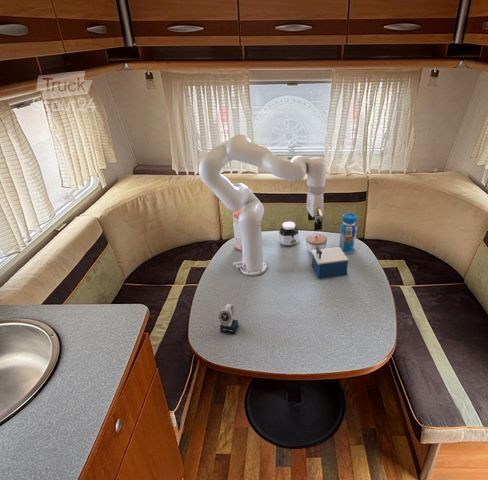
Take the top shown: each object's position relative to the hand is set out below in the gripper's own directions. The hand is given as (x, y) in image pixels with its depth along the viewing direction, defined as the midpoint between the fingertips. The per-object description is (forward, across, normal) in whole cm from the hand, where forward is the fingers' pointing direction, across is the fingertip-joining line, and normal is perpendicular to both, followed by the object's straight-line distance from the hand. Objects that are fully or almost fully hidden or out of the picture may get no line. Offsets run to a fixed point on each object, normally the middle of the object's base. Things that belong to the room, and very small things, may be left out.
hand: (314, 224), depth 157 cm
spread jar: (+26, -31, -4) cm, 40 cm away
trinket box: (+26, -18, +7) cm, 32 cm away
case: (+25, 0, +8) cm, 27 cm away
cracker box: (+26, -33, -26) cm, 49 cm away
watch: (+26, +29, -42) cm, 57 cm away
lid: (+17, 0, +8) cm, 19 cm away
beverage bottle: (+26, -15, +23) cm, 37 cm away
